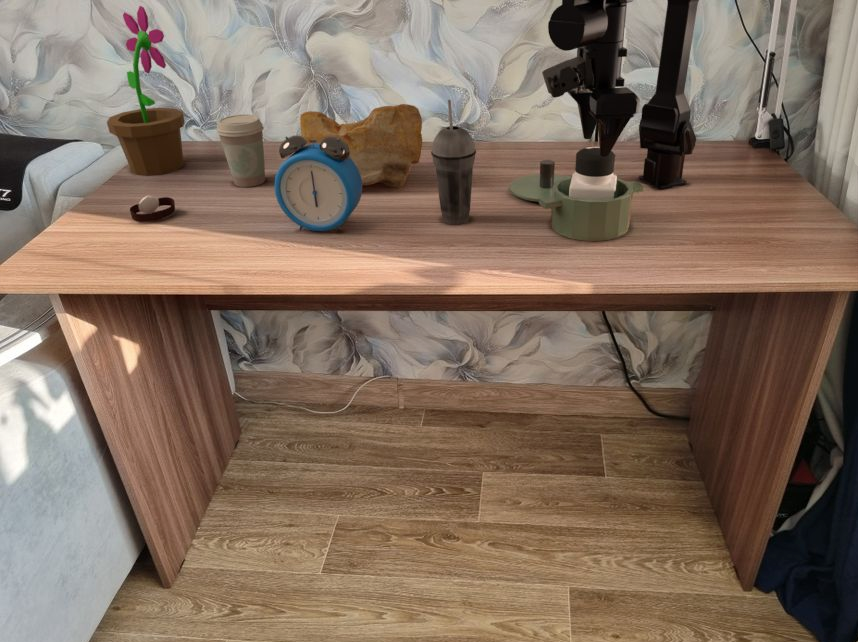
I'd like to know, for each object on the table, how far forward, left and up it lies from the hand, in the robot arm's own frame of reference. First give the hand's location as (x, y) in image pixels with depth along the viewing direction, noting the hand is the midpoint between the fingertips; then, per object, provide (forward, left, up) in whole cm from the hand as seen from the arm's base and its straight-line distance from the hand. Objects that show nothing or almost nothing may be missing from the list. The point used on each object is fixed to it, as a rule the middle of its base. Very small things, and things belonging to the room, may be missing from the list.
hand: (595, 147), depth 113 cm
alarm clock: (+40, -19, -13) cm, 46 cm away
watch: (+66, -36, -13) cm, 76 cm away
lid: (-1, -17, -12) cm, 21 cm away
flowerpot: (+64, -65, -13) cm, 92 cm away
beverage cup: (+19, -12, -13) cm, 26 cm away
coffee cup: (+48, -47, -13) cm, 68 cm away
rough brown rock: (+26, -38, -13) cm, 48 cm away
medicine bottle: (0, 0, -13) cm, 13 cm away
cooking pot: (0, 0, -13) cm, 13 cm away
